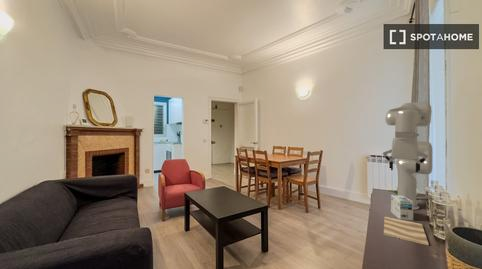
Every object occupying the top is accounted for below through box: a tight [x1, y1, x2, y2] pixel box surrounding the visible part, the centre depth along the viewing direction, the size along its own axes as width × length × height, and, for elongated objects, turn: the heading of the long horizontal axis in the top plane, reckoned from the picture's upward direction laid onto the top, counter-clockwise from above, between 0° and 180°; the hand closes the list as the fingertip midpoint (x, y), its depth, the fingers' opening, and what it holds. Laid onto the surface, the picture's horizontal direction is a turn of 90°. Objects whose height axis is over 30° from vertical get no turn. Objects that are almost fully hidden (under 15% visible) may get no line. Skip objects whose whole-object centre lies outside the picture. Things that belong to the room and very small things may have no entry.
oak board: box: [383, 216, 429, 246], centre depth 104 cm, size 22×16×1 cm
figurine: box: [387, 187, 398, 195], centre depth 151 cm, size 3×12×8 cm, turn 56°
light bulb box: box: [390, 194, 414, 221], centre depth 121 cm, size 11×7×11 cm, turn 168°
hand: (404, 170), depth 102 cm, fingers open, 9 cm apart
